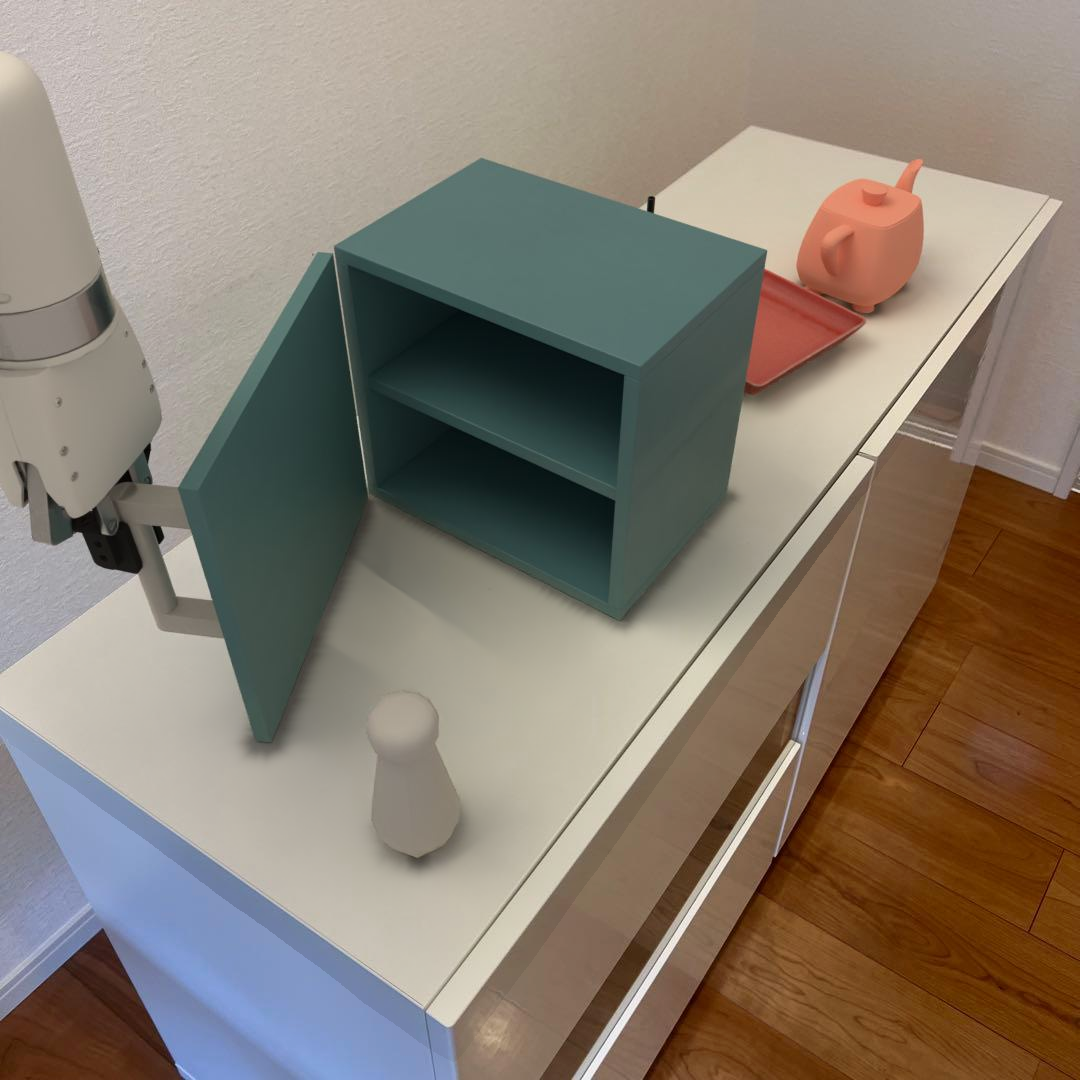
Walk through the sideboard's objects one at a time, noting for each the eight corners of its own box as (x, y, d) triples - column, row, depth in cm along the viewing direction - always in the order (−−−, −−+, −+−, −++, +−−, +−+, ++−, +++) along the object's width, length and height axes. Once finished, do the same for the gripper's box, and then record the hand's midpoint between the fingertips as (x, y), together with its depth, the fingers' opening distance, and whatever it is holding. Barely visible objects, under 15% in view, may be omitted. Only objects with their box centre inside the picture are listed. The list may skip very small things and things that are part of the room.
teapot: (860, 341, 114) (886, 238, 105) (763, 302, 119) (780, 200, 111) (942, 267, 125) (972, 167, 116) (850, 234, 130) (872, 137, 122)
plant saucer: (732, 278, 123) (736, 252, 120) (864, 344, 113) (871, 317, 111) (621, 338, 114) (623, 311, 112) (753, 415, 104) (758, 388, 102)
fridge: (619, 621, 85) (641, 366, 68) (368, 493, 96) (332, 245, 79) (726, 497, 96) (768, 249, 79) (489, 394, 107) (481, 157, 90)
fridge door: (169, 729, 78) (69, 476, 61) (285, 489, 96) (233, 244, 79) (271, 742, 77) (197, 490, 60) (368, 497, 95) (333, 252, 79)
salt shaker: (427, 777, 75) (412, 657, 66) (479, 832, 72) (471, 715, 63) (357, 826, 72) (332, 709, 63) (408, 886, 69) (389, 771, 60)
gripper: (60, 225, 63) (142, 465, 76) (-128, 381, 52) (6, 631, 65) (176, 242, 61) (239, 484, 74) (8, 407, 50) (117, 657, 63)
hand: (130, 551), depth 69 cm, fingers closed on fridge door, 2 cm apart
